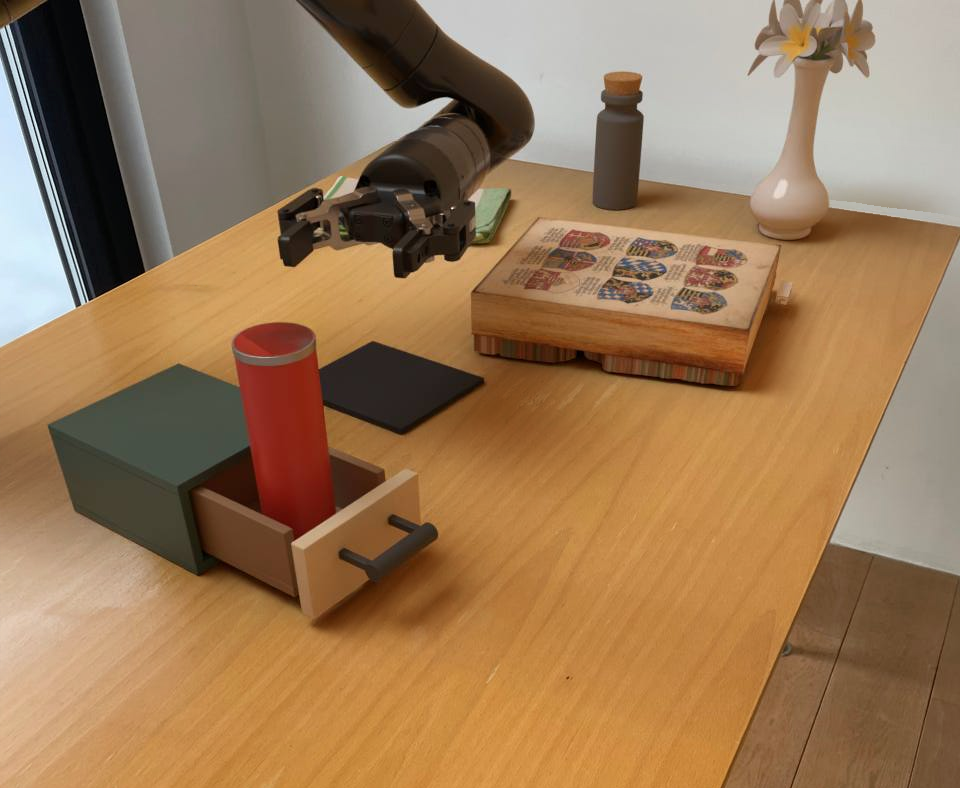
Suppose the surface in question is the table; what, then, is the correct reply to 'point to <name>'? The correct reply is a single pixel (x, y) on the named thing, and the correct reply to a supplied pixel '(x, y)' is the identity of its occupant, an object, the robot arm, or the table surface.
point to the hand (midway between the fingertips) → (341, 259)
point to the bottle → (618, 142)
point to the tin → (286, 423)
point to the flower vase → (804, 106)
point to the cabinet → (153, 457)
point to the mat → (392, 386)
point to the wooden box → (628, 300)
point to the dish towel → (486, 200)
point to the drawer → (315, 531)
